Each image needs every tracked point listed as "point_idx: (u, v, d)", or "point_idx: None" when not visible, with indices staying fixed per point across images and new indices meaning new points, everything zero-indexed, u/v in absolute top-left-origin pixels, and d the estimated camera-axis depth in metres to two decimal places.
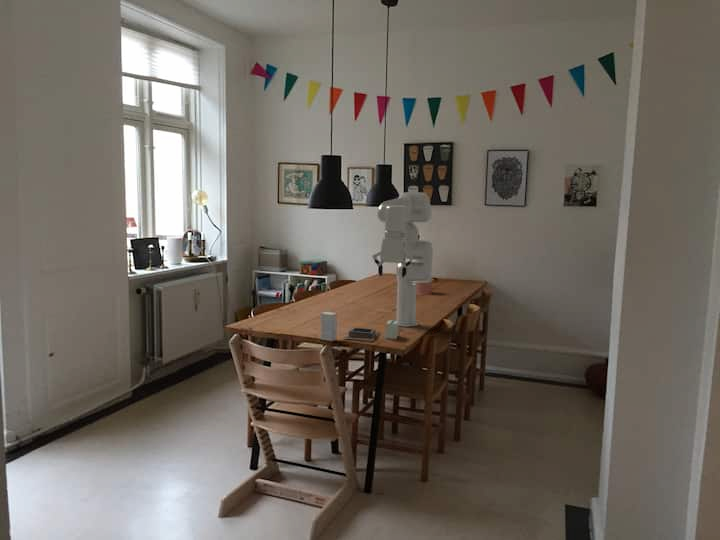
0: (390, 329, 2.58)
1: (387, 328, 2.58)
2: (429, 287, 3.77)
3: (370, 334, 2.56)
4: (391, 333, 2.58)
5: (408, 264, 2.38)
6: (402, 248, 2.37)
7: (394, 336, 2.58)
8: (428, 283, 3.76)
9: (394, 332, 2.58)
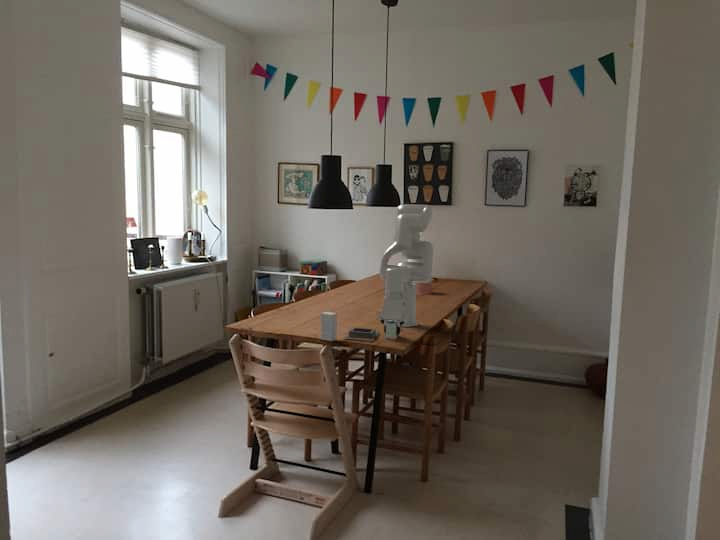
0: (390, 329, 2.58)
1: (387, 328, 2.58)
2: (429, 287, 3.77)
3: (370, 334, 2.56)
4: (391, 333, 2.58)
5: (402, 324, 2.59)
6: (401, 307, 2.57)
7: (394, 336, 2.58)
8: (428, 283, 3.76)
9: (394, 332, 2.58)
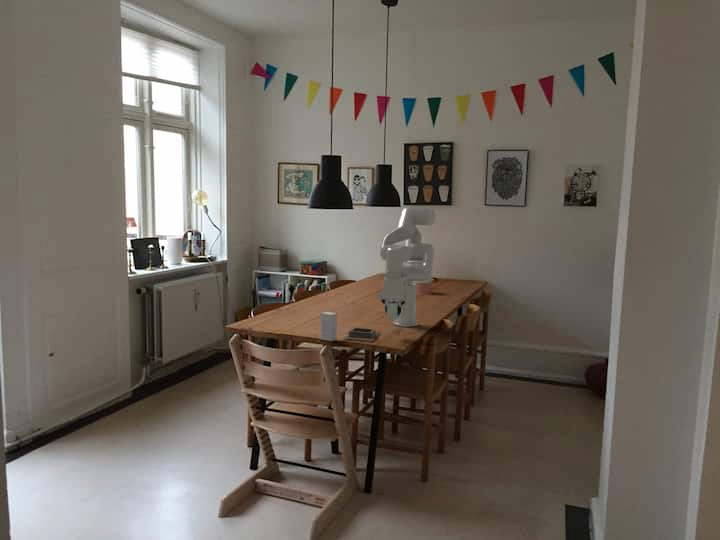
0: (391, 309, 2.57)
1: (388, 308, 2.58)
2: (429, 287, 3.77)
3: (370, 334, 2.56)
4: (392, 313, 2.57)
5: (403, 303, 2.58)
6: (402, 287, 2.56)
7: (395, 316, 2.57)
8: (428, 283, 3.76)
9: (395, 312, 2.57)
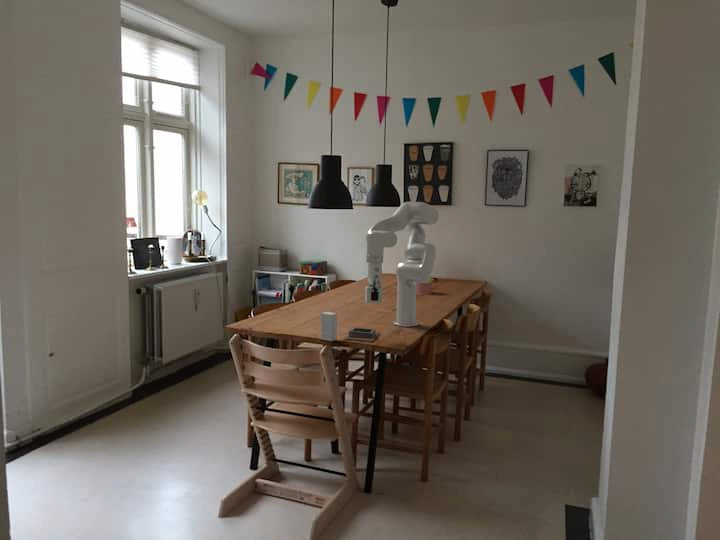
0: (366, 292, 2.58)
1: (365, 291, 2.59)
2: (429, 287, 3.77)
3: (370, 334, 2.56)
4: (366, 296, 2.58)
5: (374, 289, 2.53)
6: (371, 271, 2.53)
7: (366, 300, 2.56)
8: (428, 283, 3.76)
9: (366, 295, 2.56)
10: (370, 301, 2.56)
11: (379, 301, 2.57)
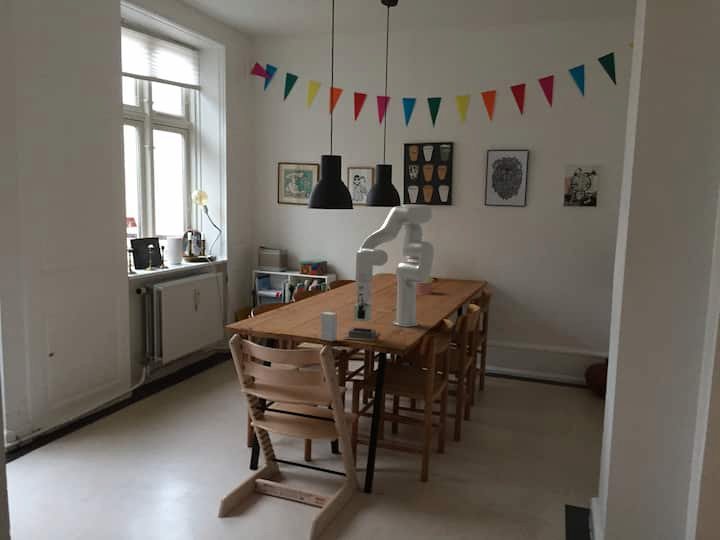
0: None
1: None
2: (429, 287, 3.77)
3: (370, 334, 2.56)
4: None
5: (358, 307, 2.55)
6: (357, 289, 2.54)
7: None
8: (428, 283, 3.76)
9: None
10: (357, 319, 2.58)
11: (366, 319, 2.57)
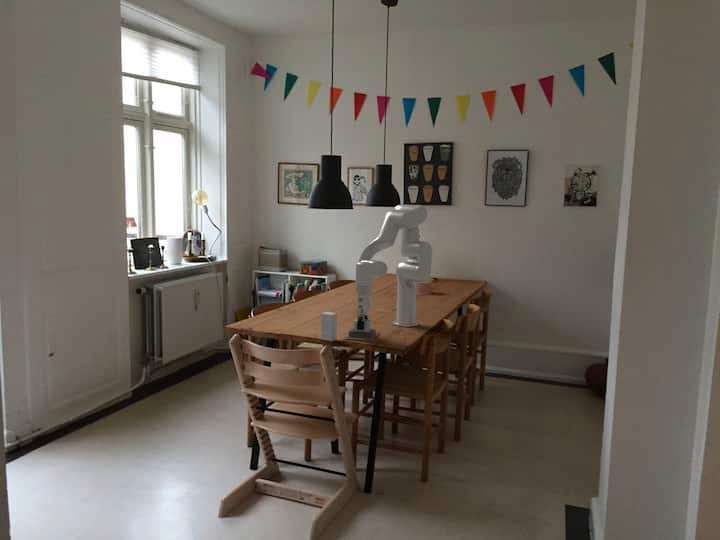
0: None
1: None
2: (429, 287, 3.77)
3: (370, 334, 2.56)
4: None
5: (358, 318, 2.54)
6: None
7: None
8: (428, 283, 3.76)
9: None
10: None
11: None
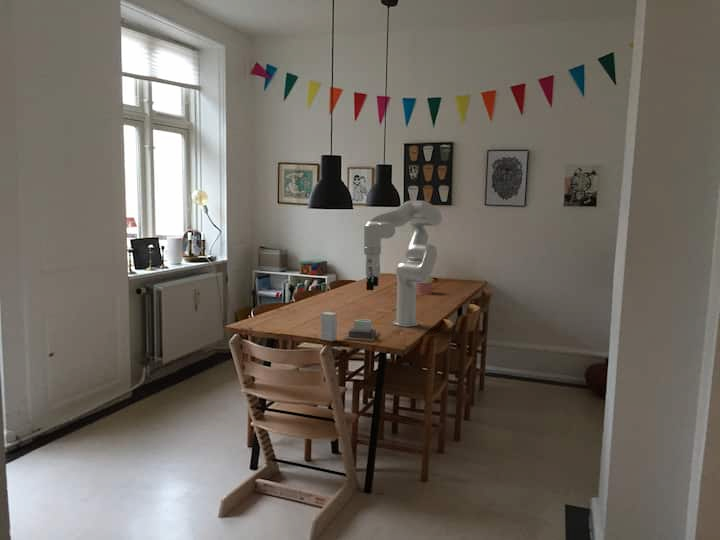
0: None
1: None
2: (429, 287, 3.77)
3: (370, 334, 2.56)
4: None
5: (367, 278, 2.54)
6: (366, 263, 2.56)
7: None
8: (428, 283, 3.76)
9: None
10: None
11: None
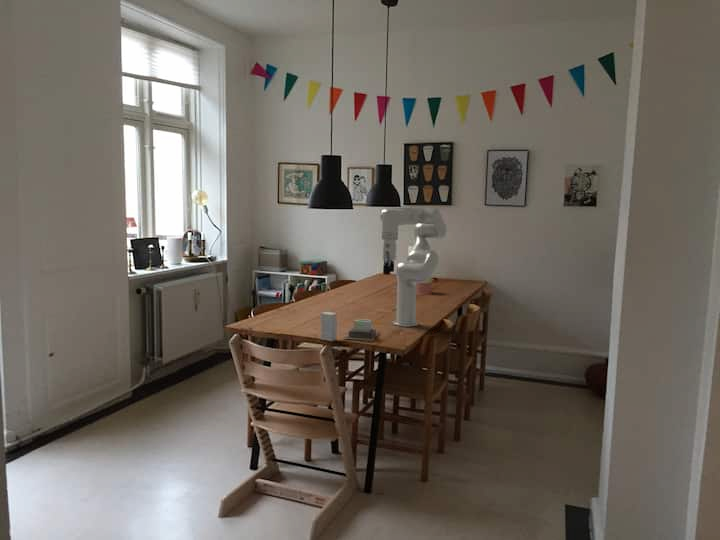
0: None
1: None
2: (429, 287, 3.77)
3: (370, 334, 2.56)
4: None
5: None
6: (383, 247, 2.61)
7: None
8: (428, 283, 3.76)
9: None
10: None
11: None
